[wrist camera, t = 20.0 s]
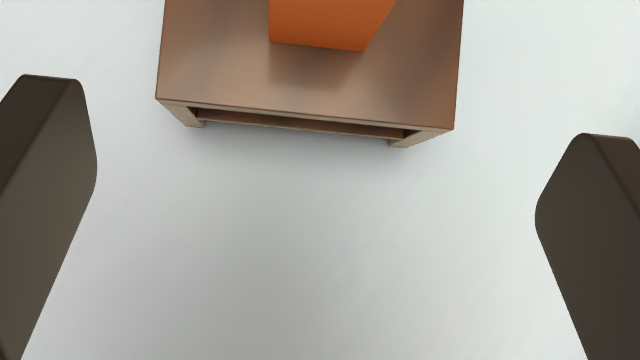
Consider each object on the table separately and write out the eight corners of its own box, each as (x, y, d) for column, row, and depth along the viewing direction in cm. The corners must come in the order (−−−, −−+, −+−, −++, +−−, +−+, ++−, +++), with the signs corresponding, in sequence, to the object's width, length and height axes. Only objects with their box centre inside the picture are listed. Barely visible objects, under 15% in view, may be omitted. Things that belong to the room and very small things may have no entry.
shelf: (185, 126, 33) (154, 98, 25) (202, -48, 34) (179, -137, 25) (406, 148, 35) (454, 129, 26) (420, -20, 35) (471, -95, 26)
